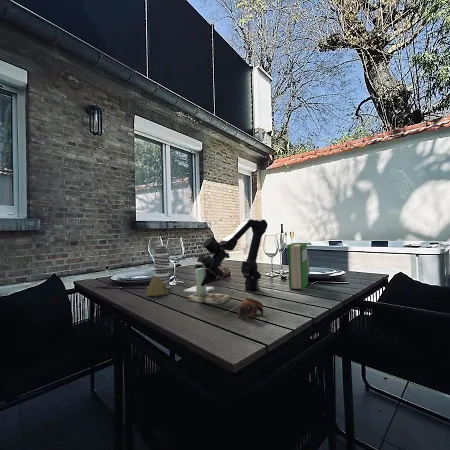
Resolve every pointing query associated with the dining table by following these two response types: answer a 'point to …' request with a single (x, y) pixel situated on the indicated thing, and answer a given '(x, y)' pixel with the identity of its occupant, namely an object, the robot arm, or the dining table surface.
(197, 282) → the round block
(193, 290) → the board
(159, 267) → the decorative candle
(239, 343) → the dining table surface
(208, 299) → the frame
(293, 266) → the hardback book
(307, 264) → the coffee box
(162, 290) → the rock
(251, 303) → the brown lumpy piece
